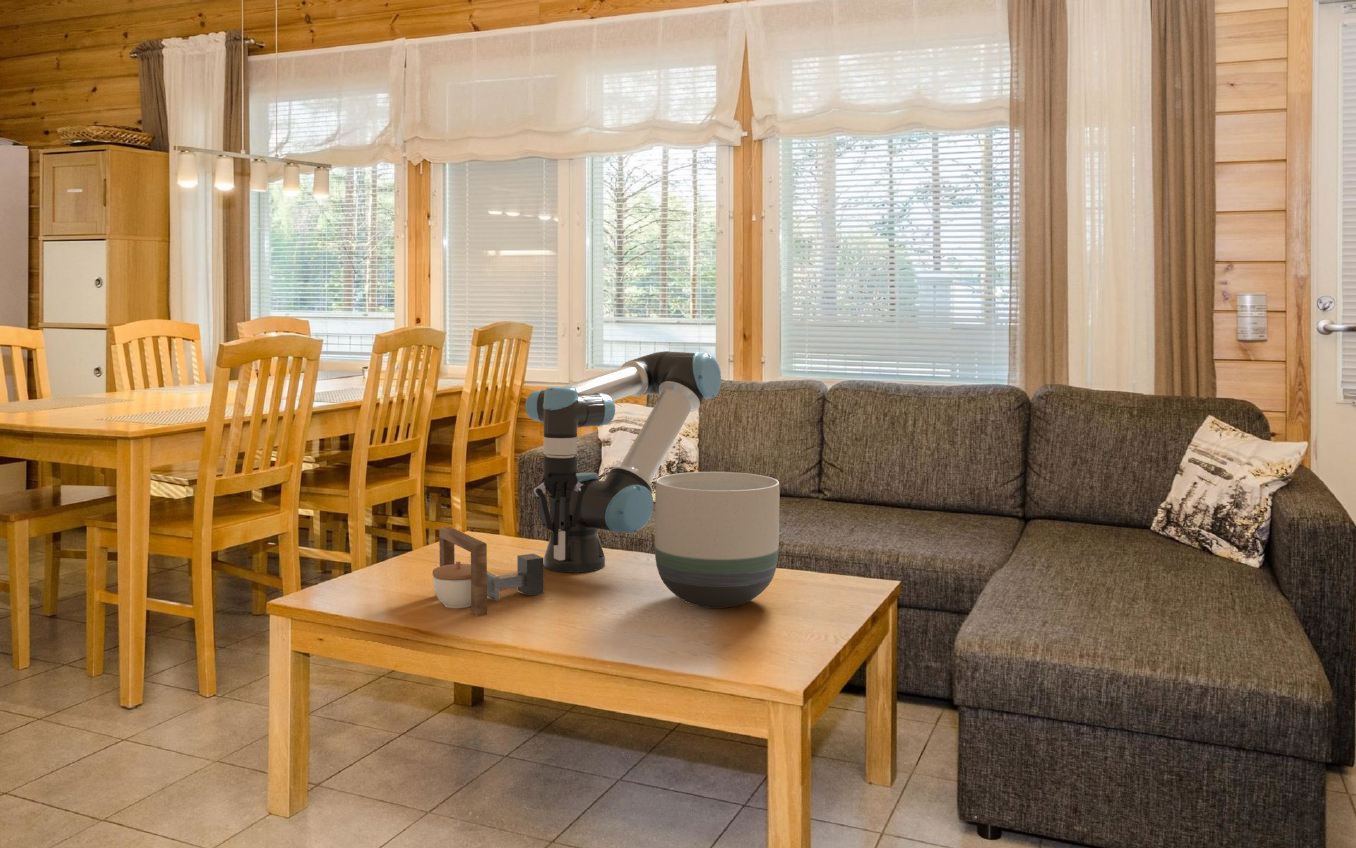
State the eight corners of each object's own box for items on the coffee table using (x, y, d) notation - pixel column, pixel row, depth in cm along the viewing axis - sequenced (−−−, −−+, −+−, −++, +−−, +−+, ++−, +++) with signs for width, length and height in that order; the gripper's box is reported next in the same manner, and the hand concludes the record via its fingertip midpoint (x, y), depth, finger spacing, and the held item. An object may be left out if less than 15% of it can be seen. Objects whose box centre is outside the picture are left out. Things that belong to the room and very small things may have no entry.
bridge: (450, 592, 243) (450, 526, 241) (487, 614, 226) (486, 543, 224) (440, 594, 241) (439, 527, 240) (475, 616, 224) (475, 545, 223)
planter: (790, 594, 245) (792, 475, 242) (759, 626, 219) (761, 494, 217) (678, 583, 253) (679, 468, 251) (636, 612, 228) (636, 486, 225)
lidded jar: (472, 613, 227) (472, 569, 226) (424, 609, 229) (424, 566, 228) (491, 600, 237) (490, 557, 236) (445, 596, 239) (444, 555, 238)
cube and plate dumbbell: (530, 586, 247) (529, 551, 246) (547, 595, 240) (547, 559, 239) (478, 593, 240) (478, 558, 239) (495, 603, 233) (494, 566, 232)
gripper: (578, 452, 250) (577, 553, 252) (526, 455, 243) (525, 558, 245) (593, 455, 244) (592, 559, 246) (541, 459, 236) (540, 565, 239)
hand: (559, 558), depth 245 cm, fingers closed
